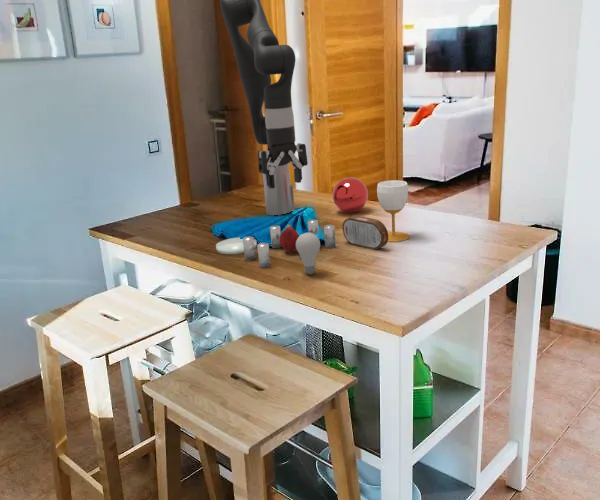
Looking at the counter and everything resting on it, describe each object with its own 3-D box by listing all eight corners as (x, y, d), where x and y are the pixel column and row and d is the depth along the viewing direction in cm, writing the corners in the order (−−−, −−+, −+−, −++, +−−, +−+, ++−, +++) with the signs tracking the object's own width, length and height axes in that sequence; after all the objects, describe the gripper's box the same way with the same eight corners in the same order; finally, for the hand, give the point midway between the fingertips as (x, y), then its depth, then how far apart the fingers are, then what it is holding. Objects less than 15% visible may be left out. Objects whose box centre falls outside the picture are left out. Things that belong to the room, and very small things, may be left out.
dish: (244, 238, 186) (244, 234, 185) (264, 247, 176) (264, 243, 176) (209, 247, 179) (208, 244, 179) (228, 257, 170) (227, 253, 169)
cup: (412, 233, 178) (412, 180, 173) (404, 243, 170) (403, 187, 165) (383, 231, 182) (381, 179, 177) (374, 240, 174) (372, 186, 169)
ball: (374, 208, 207) (373, 174, 203) (359, 218, 198) (357, 182, 194) (343, 206, 213) (341, 173, 209) (327, 215, 204) (325, 180, 200)
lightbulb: (297, 271, 155) (294, 230, 152) (320, 269, 156) (318, 228, 152) (299, 279, 150) (295, 237, 146) (323, 277, 150) (320, 235, 146)
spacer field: (308, 235, 184) (307, 216, 182) (345, 249, 169) (344, 228, 167) (236, 255, 171) (234, 235, 169) (269, 271, 156) (267, 250, 154)
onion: (298, 255, 167) (296, 228, 164) (278, 255, 168) (276, 228, 165) (302, 248, 172) (300, 222, 169) (283, 249, 173) (280, 222, 171)
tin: (389, 249, 166) (388, 220, 164) (382, 252, 164) (381, 223, 162) (348, 240, 177) (347, 212, 174) (341, 243, 175) (339, 215, 172)
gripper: (294, 120, 165) (298, 178, 170) (249, 127, 158) (255, 188, 163) (310, 122, 159) (314, 182, 164) (264, 129, 152) (269, 192, 157)
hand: (284, 185), depth 164 cm, fingers open, 8 cm apart
